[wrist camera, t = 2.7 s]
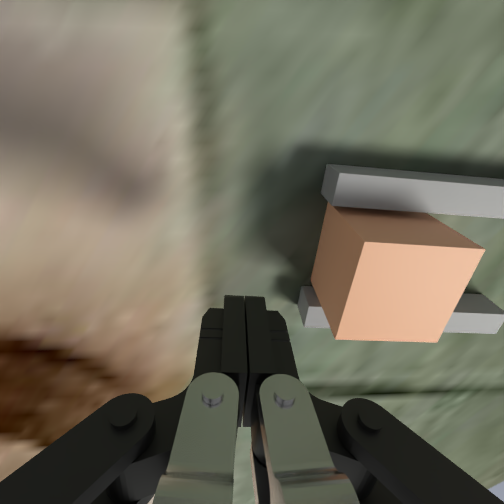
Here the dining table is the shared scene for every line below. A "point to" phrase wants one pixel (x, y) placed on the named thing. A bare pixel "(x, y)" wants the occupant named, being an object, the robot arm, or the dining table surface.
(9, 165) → the dining table surface
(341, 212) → the terracotta block
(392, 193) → the chute
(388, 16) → the dining table surface
